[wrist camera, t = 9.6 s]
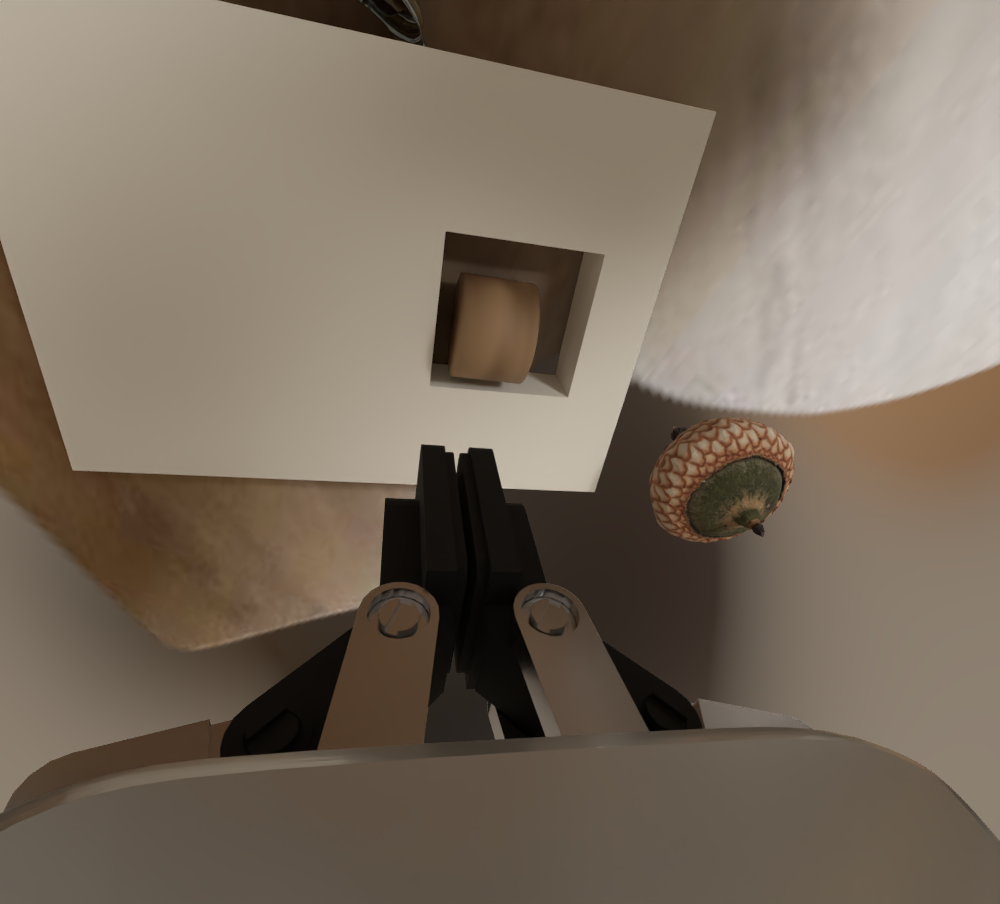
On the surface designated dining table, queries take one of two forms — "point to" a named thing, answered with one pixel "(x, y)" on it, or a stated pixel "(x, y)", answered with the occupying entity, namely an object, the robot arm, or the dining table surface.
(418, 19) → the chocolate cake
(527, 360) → the brown wooden cylinder
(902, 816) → the robot arm
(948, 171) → the dining table surface
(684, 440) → the acorn
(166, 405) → the plate
